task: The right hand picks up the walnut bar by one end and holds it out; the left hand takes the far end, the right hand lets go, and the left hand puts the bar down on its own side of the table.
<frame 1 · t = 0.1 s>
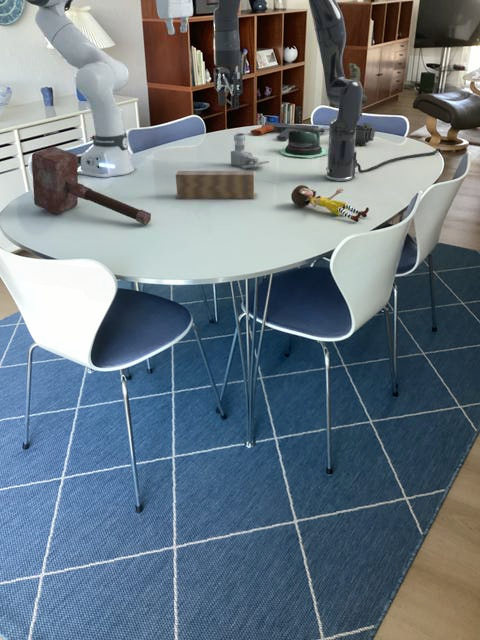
left hand: (177, 33, 183), 48 cm above the table, tool pointing down, fingers open, 8 cm apart
right hand: (228, 107, 169), 29 cm above the table, tool pointing down, fingers open, 8 cm apart
dark green hat: (303, 152, 236), on the table
statue: (353, 131, 270), on the table
sledgehammer: (95, 216, 172), on the table
toy: (355, 144, 247), on the table
submachine gun: (285, 135, 265), on the table
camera: (247, 167, 218), on the table
bar: (216, 196, 187), on the table
figurine: (326, 212, 171), on the table
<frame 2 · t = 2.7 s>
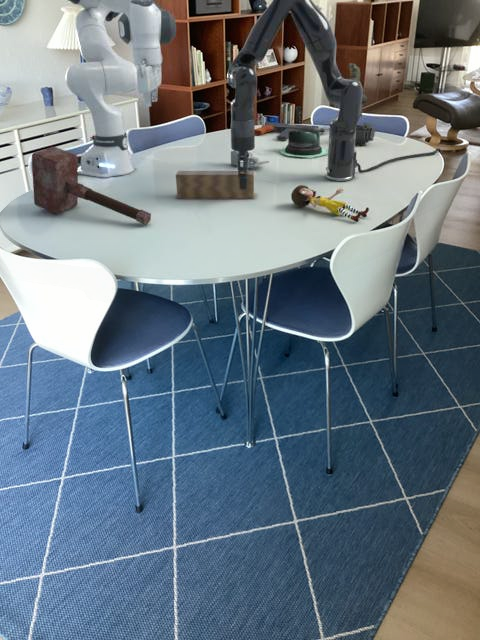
left hand: (151, 104, 184), 28 cm above the table, tool pointing down, fingers open, 8 cm apart
right hand: (243, 186, 184), 3 cm above the table, tool pointing down, fingers closed on bar, 4 cm apart
bar: (216, 196, 187), on the table, touching right hand
everything else where it was.
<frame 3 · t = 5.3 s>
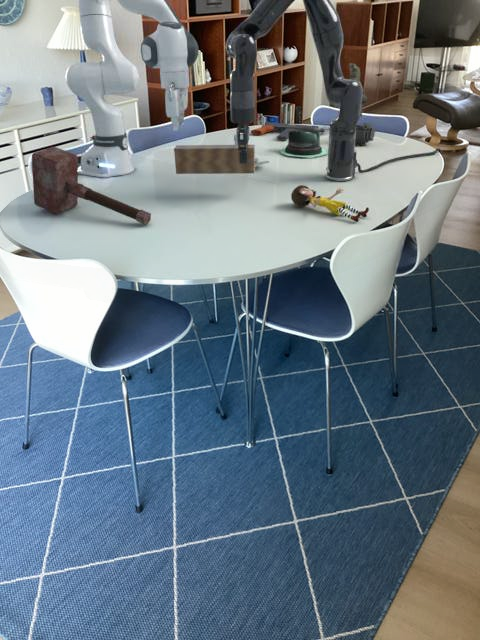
left hand: (178, 127, 178), 22 cm above the table, tool pointing down, fingers open, 8 cm apart
right hand: (243, 160, 180), 12 cm above the table, tool pointing down, fingers closed on bar, 4 cm apart
bar: (215, 171, 182), point 8 cm above the table, touching right hand
everything else where it was.
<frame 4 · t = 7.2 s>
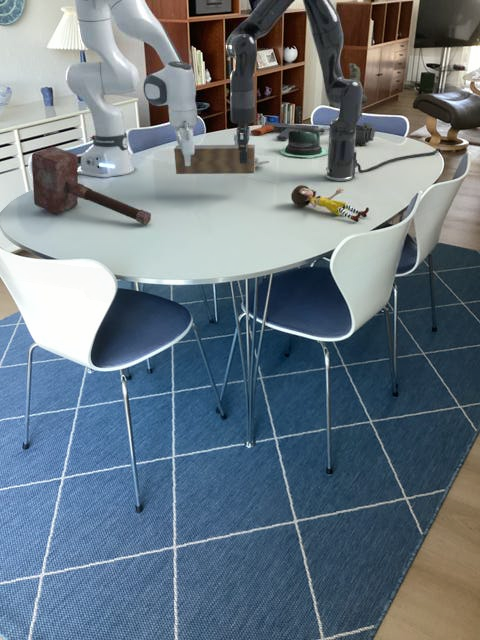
left hand: (186, 162, 182), 11 cm above the table, tool pointing down, fingers closed on bar, 5 cm apart
right hand: (243, 160, 180), 12 cm above the table, tool pointing down, fingers closed on bar, 4 cm apart
bar: (215, 171, 182), point 8 cm above the table, touching left hand, right hand
everything else where it was.
when the right hand's fingers open (12 cm above the table, at t = 8.2 s): bar stays where it is, held by the left hand.
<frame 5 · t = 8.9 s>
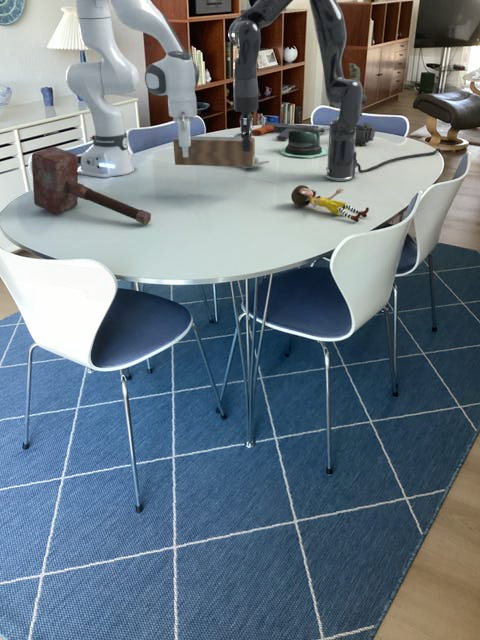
left hand: (185, 153, 181), 14 cm above the table, tool pointing down, fingers closed on bar, 5 cm apart
right hand: (247, 147, 178), 16 cm above the table, tool pointing down, fingers open, 8 cm apart
bar: (214, 163, 181), point 11 cm above the table, touching left hand, right hand
everything else where it was.
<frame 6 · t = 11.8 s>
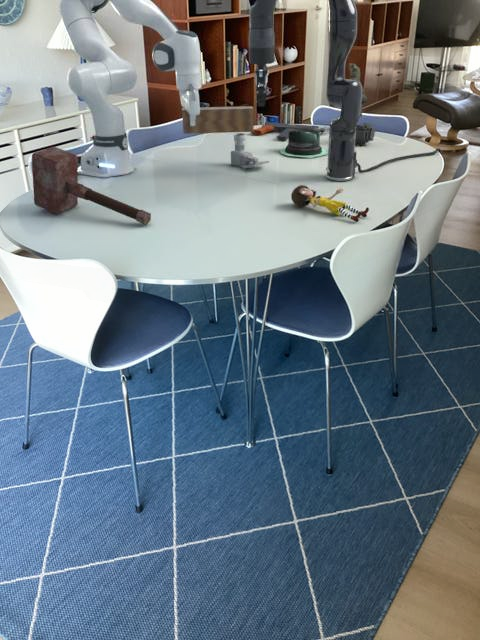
left hand: (191, 123, 201), 18 cm above the table, tool pointing down, fingers closed on bar, 5 cm apart
right hand: (261, 103, 171), 29 cm above the table, tool pointing down, fingers open, 8 cm apart
bar: (218, 131, 203), point 15 cm above the table, touching left hand
everything else where it was.
when the left hand's fingers open (5 cm above the table, at t = 16.8 s): bar stays where it is, on the table.
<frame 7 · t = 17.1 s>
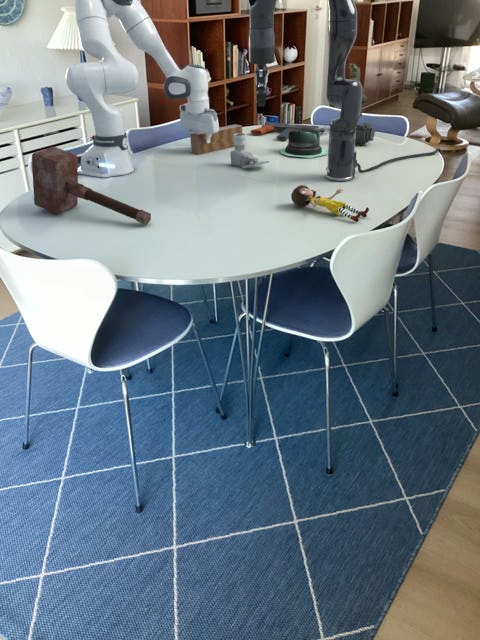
left hand: (200, 141, 237), 5 cm above the table, tool pointing down, fingers open, 8 cm apart
right hand: (261, 103, 171), 29 cm above the table, tool pointing down, fingers open, 8 cm apart
bar: (217, 148, 245), on the table
everything else where it was.
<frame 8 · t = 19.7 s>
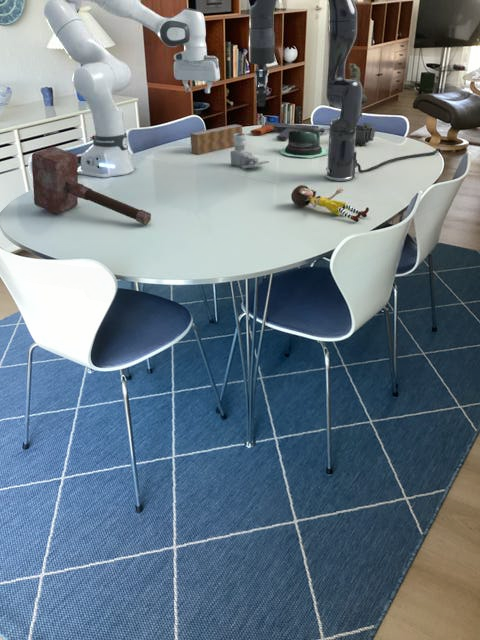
left hand: (197, 92, 227), 24 cm above the table, tool pointing down, fingers open, 8 cm apart
right hand: (261, 103, 171), 29 cm above the table, tool pointing down, fingers open, 8 cm apart
nothing on the table moved.
at the end: bar inside the target area (9.4 cm from its centre), on the table; the left hand is holding nothing; the right hand is holding nothing; bar at rest at the end (0.0 cm/s) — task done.
